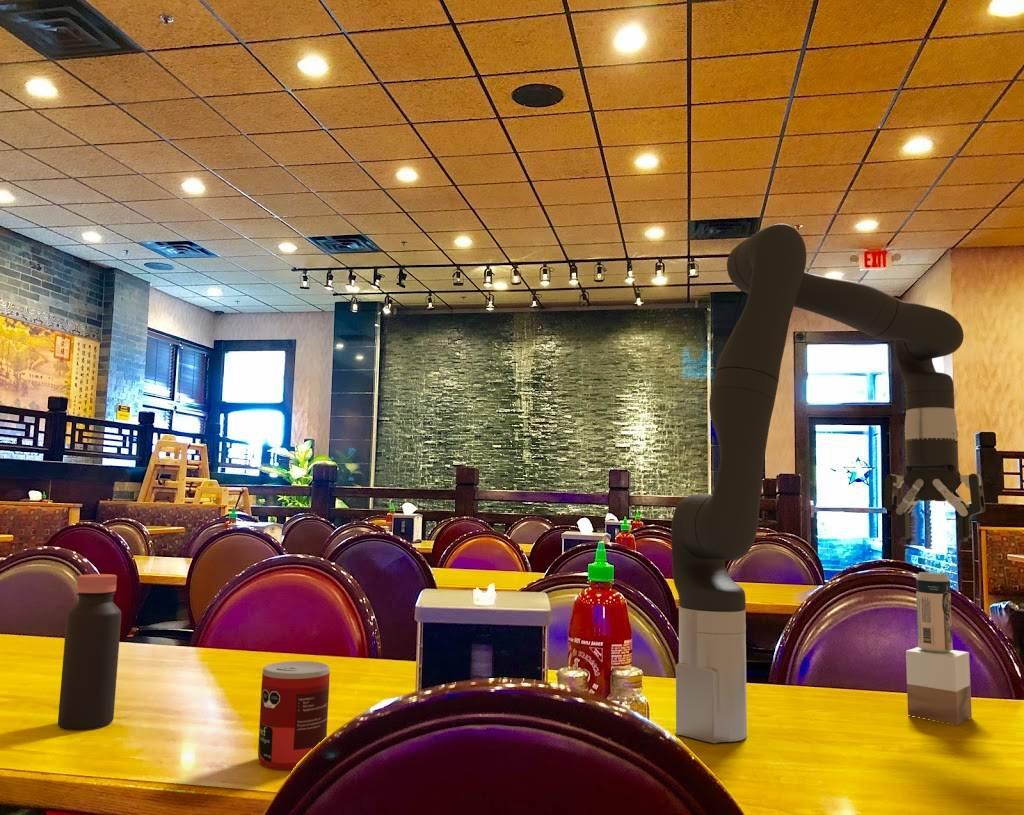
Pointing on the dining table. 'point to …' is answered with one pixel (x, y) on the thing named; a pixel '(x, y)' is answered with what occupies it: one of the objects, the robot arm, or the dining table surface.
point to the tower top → (938, 669)
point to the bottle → (90, 655)
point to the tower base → (939, 704)
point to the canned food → (292, 712)
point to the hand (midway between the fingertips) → (934, 539)
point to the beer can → (934, 612)
